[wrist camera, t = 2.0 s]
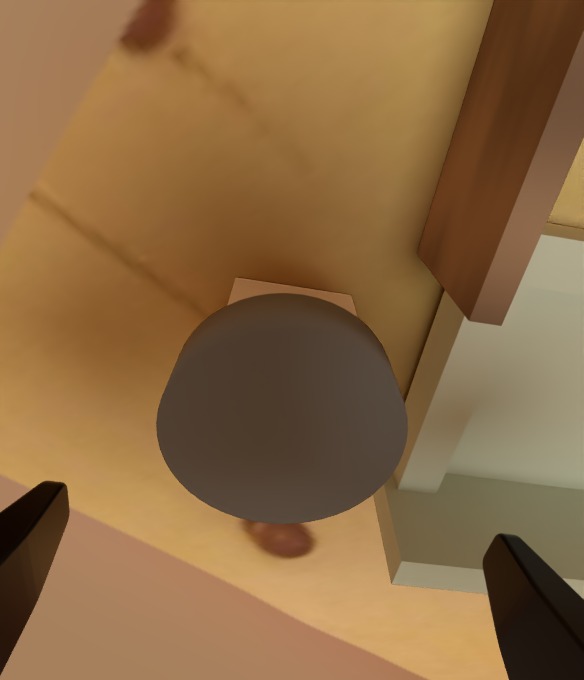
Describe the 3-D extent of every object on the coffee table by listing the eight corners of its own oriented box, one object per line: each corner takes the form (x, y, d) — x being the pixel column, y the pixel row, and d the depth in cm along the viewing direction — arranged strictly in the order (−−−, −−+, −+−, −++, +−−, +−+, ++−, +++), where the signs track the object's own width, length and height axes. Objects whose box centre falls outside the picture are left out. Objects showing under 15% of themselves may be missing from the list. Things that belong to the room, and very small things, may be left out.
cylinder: (420, 312, 12) (441, 349, 10) (363, 483, 15) (372, 534, 13) (179, 275, 12) (159, 308, 10) (169, 460, 15) (154, 510, 13)
